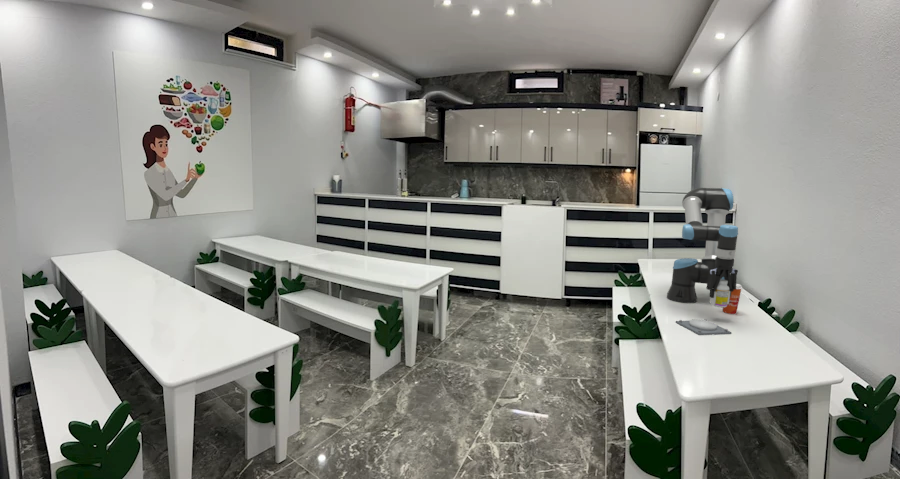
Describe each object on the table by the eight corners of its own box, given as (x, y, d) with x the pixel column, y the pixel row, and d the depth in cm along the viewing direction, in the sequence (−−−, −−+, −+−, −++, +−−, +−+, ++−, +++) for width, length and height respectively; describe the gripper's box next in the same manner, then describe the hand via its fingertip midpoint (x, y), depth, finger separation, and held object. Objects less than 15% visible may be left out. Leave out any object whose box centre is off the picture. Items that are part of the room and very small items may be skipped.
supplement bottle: (711, 302, 218) (714, 277, 216) (727, 305, 215) (730, 279, 212) (710, 306, 213) (713, 280, 211) (726, 308, 209) (729, 283, 207)
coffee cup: (721, 313, 225) (725, 285, 223) (718, 308, 233) (722, 281, 230) (740, 315, 222) (744, 287, 220) (737, 311, 230) (740, 283, 227)
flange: (675, 322, 210) (676, 318, 210) (705, 321, 212) (706, 317, 212) (698, 335, 194) (699, 330, 194) (731, 333, 197) (731, 328, 196)
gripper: (712, 259, 204) (706, 307, 209) (749, 258, 207) (743, 305, 211) (700, 256, 212) (695, 301, 216) (737, 255, 214) (731, 300, 219)
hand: (719, 303), depth 214 cm, fingers closed on supplement bottle, 7 cm apart
